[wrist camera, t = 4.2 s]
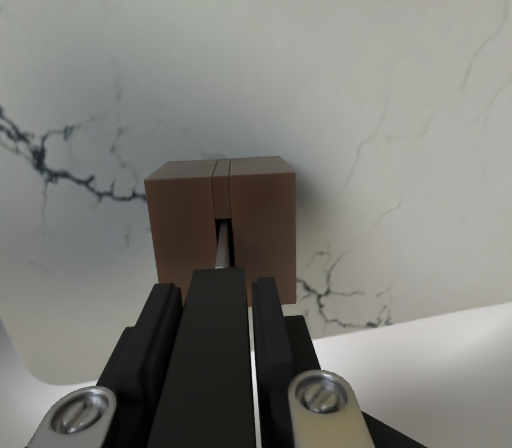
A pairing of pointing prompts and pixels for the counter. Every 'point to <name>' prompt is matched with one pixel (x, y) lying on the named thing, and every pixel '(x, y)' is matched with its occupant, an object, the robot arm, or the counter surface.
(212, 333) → the knife
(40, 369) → the counter surface
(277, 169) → the knife block
